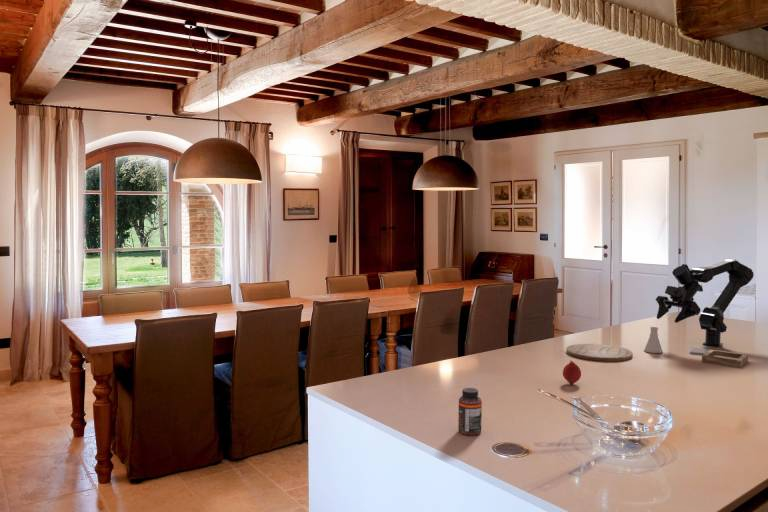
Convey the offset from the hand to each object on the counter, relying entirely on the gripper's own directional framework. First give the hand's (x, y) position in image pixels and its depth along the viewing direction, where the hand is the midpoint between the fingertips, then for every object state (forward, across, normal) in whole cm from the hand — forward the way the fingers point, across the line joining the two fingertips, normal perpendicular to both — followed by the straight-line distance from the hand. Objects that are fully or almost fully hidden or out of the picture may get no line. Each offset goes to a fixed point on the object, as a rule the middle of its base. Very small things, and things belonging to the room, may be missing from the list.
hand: (666, 320), depth 257 cm
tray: (+4, +23, +13) cm, 27 cm away
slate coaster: (+1, +9, +16) cm, 19 cm away
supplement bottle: (+96, +52, -77) cm, 134 cm away
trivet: (+31, -5, -12) cm, 33 cm away
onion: (+58, +26, -39) cm, 74 cm away
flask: (+14, 0, +5) cm, 14 cm away
